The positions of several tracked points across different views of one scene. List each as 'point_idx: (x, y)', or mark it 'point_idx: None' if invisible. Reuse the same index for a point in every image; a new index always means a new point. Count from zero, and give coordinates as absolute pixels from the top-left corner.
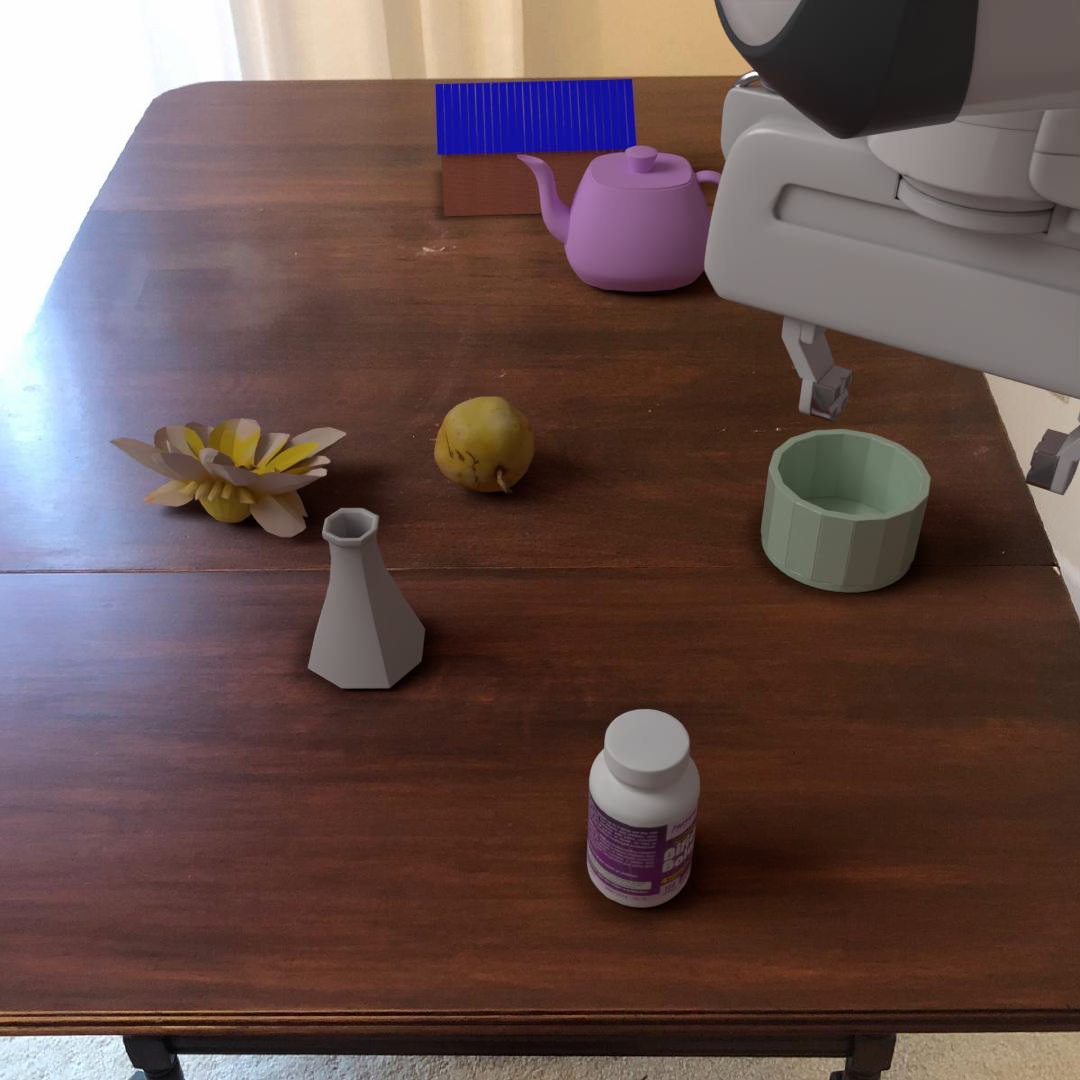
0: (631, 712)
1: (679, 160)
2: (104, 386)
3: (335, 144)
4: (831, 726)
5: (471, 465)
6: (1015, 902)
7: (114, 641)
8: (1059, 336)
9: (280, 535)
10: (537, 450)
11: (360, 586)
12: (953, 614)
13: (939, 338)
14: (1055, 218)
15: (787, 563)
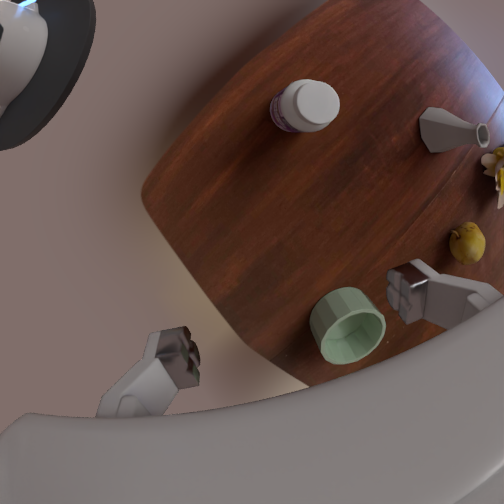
0: (337, 111)
1: None
2: None
3: None
4: (282, 232)
5: (467, 228)
6: (173, 214)
7: (476, 84)
8: (149, 496)
9: (483, 155)
10: (450, 264)
11: (459, 125)
12: (282, 319)
13: (351, 406)
14: None
15: (349, 290)
